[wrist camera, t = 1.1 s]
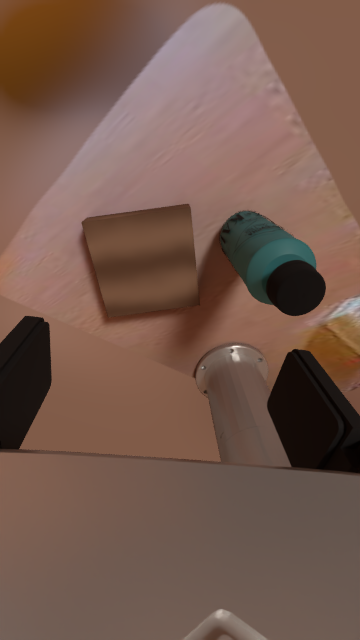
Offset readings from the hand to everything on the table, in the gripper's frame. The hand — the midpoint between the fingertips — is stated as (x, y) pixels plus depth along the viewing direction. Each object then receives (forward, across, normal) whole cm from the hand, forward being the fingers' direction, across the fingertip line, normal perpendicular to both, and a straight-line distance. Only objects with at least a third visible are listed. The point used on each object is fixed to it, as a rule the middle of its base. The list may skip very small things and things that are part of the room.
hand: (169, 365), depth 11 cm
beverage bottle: (+30, -10, 0) cm, 32 cm away
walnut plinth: (+30, +2, +5) cm, 31 cm away
